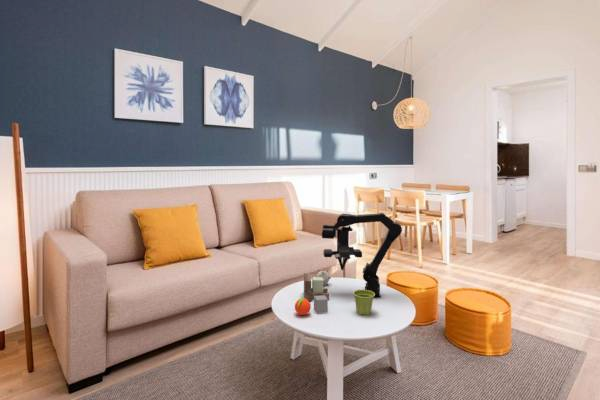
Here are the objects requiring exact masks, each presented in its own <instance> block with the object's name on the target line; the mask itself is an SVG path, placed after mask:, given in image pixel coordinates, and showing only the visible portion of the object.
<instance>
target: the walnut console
mask: <svg viewBox="0 0 600 400" xmlns="http://www.w3.org/2000/svg"><path fill="white" fill-rule="evenodd" d="M328 291H329V290H328V287H323V293H312V276H311V273H309V272H308V273H305V272H304V273H303V296H304V297H303V298H304V299H307V300H308V301H309V302H310V303H311V302H312V301H314V296H321V295H325V296H326V298H327V299H328V301H330V293H329V292H328Z"/></svg>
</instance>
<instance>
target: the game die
mask: <svg viewBox="0 0 600 400" xmlns="http://www.w3.org/2000/svg"><path fill="white" fill-rule="evenodd" d="M317 270H318V272H317V275H316V277H323V286H325V285H326V286H327V287H328V286H329V285H328V283H329V281H330V279H332V277H330V275H329V269H327V270H320V269H317Z"/></svg>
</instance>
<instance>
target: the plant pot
mask: <svg viewBox="0 0 600 400" xmlns="http://www.w3.org/2000/svg"><path fill="white" fill-rule="evenodd" d="M352 295H353V297H354V301H355V308H356V309H355V310H356V313H357V314H359V315H364V316H368V315H370V314H371V313H372V308H373V300H374V299H375V298H374V296H375V293H374V292H372V291H369V290H365V289H357V290H354V291H353V292H352Z"/></svg>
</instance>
